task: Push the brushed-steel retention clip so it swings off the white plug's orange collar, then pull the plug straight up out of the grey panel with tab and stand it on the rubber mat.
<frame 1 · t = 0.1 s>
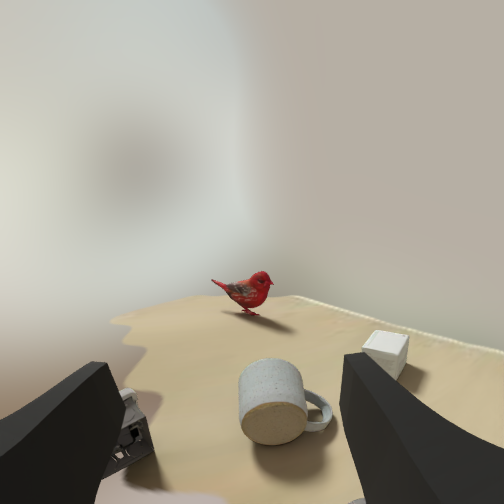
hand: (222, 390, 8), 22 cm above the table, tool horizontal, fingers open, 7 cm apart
electrical switch: (126, 461, 27), on the table
decorative bird figurine: (243, 313, 66), on the table
ceramic mug: (285, 423, 33), on the table
small box: (383, 370, 40), on the table
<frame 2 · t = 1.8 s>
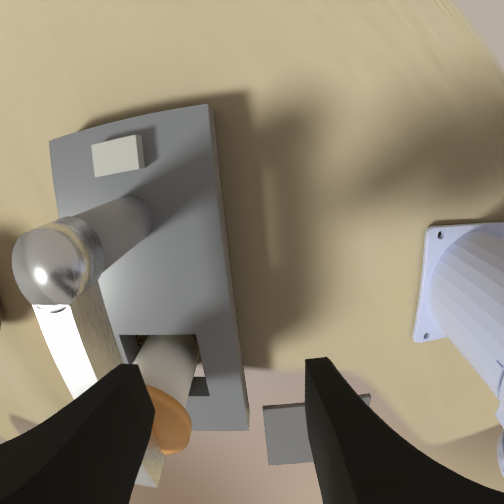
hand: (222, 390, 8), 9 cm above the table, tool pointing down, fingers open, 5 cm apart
clip: (99, 383, 10), point 8 cm above the table, hinge at 0.0°
grey panel with tab: (159, 294, 18), on the table
plug: (172, 349, 19), resting in grey panel with tab
rubber mat: (315, 433, 22), on the table
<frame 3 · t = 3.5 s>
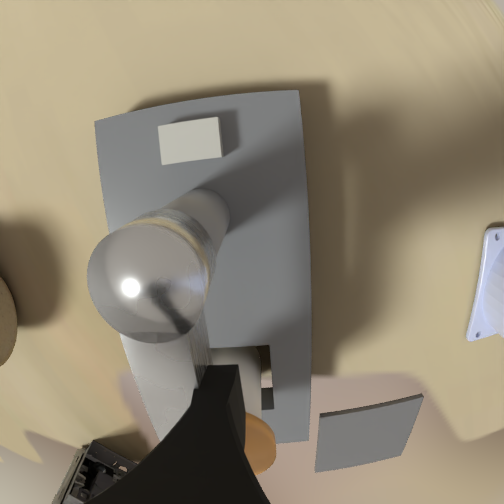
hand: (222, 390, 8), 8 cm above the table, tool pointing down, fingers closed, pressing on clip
electrical switch: (124, 460, 22), on the table
clip: (190, 417, 8), point 8 cm above the table, hinge at 1.4°, touching gripper
grey panel with tab: (221, 301, 16), on the table
plug: (230, 360, 18), resting in grey panel with tab
rubber mat: (365, 436, 20), on the table
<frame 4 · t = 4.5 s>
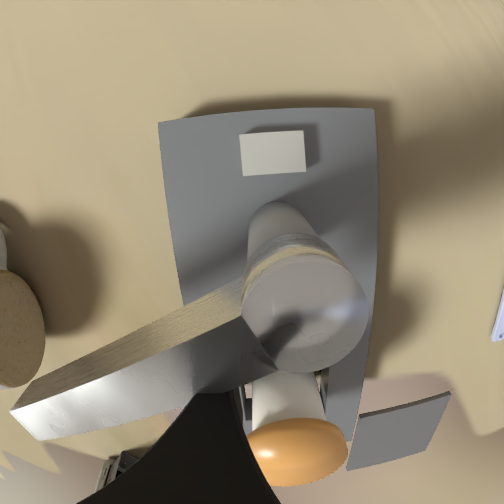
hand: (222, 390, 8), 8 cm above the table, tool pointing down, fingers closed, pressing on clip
electrical switch: (154, 469, 22), on the table
clip: (136, 374, 8), point 8 cm above the table, hinge at 65.6°, touching gripper
ceramic mug: (2, 285, 16), on the table
grey panel with tab: (279, 311, 16), on the table
plug: (282, 368, 18), resting in grey panel with tab
rubber mat: (396, 434, 20), on the table
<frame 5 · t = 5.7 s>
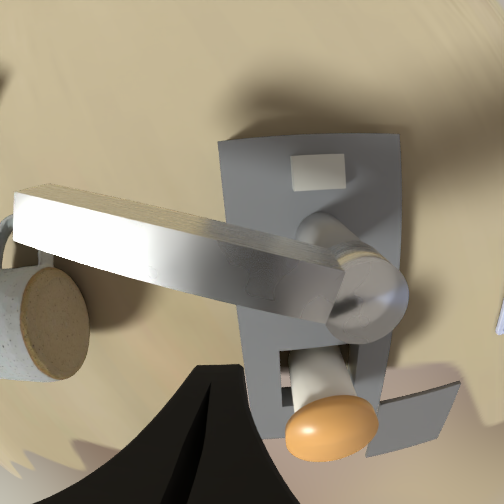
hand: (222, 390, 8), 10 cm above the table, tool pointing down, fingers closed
clip: (199, 253, 9), point 8 cm above the table, hinge at 109.2°
ceramic mug: (42, 283, 19), on the table
grey panel with tab: (315, 307, 19), on the table
plug: (314, 358, 20), resting in grey panel with tab
rubber mat: (411, 421, 22), on the table
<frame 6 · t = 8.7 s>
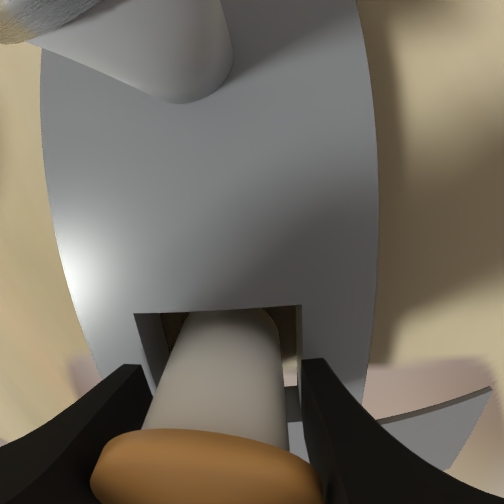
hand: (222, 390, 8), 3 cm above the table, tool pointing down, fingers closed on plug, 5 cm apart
grey panel with tab: (215, 234, 10), on the table
plug: (229, 341, 11), resting in grey panel with tab, touching gripper
rubber mat: (414, 449, 13), on the table
when the fingers open (5 cm above the table, at t = 12.9 s): plug drops 1 cm, resting on rubber mat.
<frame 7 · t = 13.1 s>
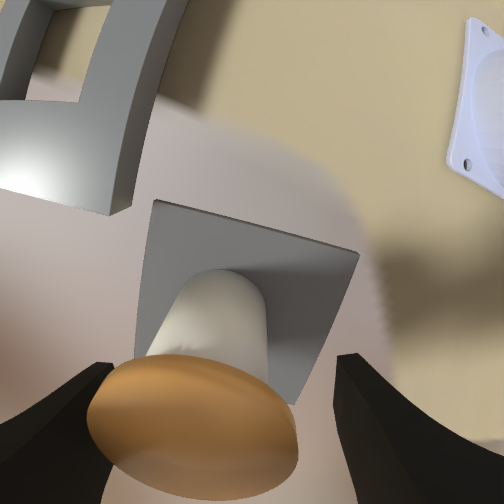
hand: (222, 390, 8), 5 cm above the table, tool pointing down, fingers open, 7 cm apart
plug: (220, 311, 12), resting on rubber mat
rubber mat: (233, 316, 13), on the table
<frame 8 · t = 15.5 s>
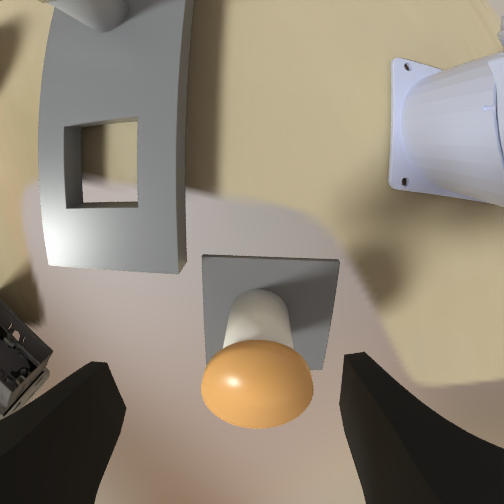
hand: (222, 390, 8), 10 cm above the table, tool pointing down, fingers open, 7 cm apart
electrical switch: (20, 325, 21), on the table
grey panel with tab: (115, 97, 15), on the table
plug: (258, 315, 19), resting on rubber mat
rubber mat: (268, 317, 19), on the table
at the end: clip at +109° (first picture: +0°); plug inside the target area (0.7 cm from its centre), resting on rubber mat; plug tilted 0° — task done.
